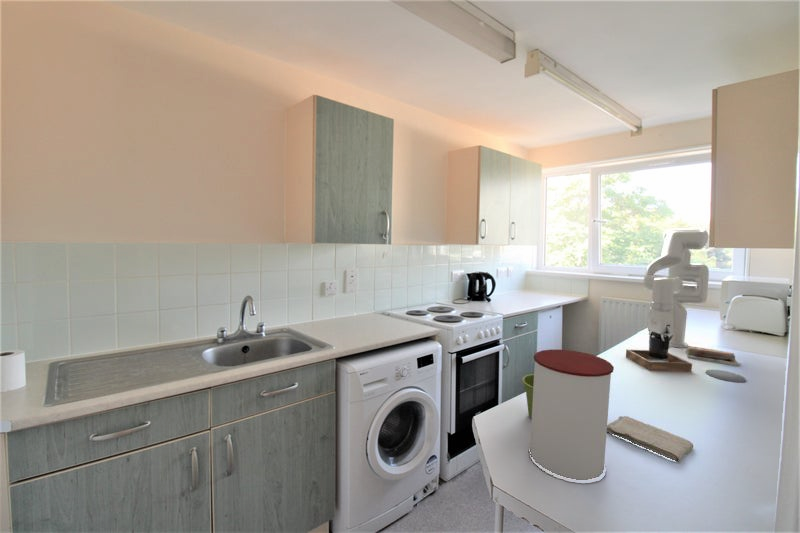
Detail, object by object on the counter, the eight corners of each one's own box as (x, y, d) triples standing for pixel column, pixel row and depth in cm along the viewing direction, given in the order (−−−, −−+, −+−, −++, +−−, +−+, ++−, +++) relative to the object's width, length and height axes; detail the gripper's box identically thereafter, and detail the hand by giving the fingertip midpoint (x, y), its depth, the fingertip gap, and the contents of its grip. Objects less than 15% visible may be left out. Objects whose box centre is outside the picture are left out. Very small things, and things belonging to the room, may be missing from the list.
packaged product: (687, 348, 170) (686, 343, 178) (687, 359, 170) (685, 353, 178) (740, 356, 160) (736, 350, 168) (739, 367, 160) (735, 361, 168)
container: (614, 459, 91) (621, 360, 89) (594, 495, 78) (603, 381, 76) (543, 433, 102) (548, 345, 100) (516, 461, 89) (521, 360, 87)
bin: (625, 356, 170) (626, 349, 169) (663, 358, 169) (664, 350, 169) (648, 370, 153) (649, 362, 152) (691, 372, 152) (692, 363, 152)
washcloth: (620, 421, 111) (621, 411, 110) (695, 450, 96) (696, 439, 96) (602, 434, 104) (603, 423, 103) (679, 467, 89) (680, 454, 89)
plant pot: (512, 413, 113) (513, 377, 112) (539, 405, 119) (541, 371, 118) (542, 432, 103) (545, 392, 102) (571, 422, 108) (574, 385, 107)
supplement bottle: (663, 355, 163) (665, 328, 162) (670, 360, 157) (672, 333, 156) (645, 353, 165) (647, 327, 164) (651, 359, 159) (653, 331, 157)
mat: (698, 370, 154) (698, 369, 154) (727, 371, 154) (728, 370, 154) (721, 381, 142) (721, 380, 142) (754, 382, 142) (754, 381, 142)
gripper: (640, 302, 168) (637, 340, 169) (666, 310, 150) (662, 353, 152) (657, 302, 167) (654, 341, 169) (685, 311, 150) (681, 353, 152)
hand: (658, 346), depth 161 cm, fingers closed on supplement bottle, 6 cm apart
